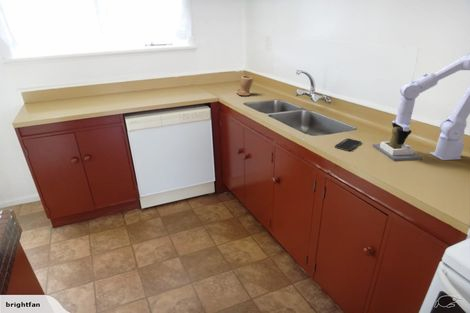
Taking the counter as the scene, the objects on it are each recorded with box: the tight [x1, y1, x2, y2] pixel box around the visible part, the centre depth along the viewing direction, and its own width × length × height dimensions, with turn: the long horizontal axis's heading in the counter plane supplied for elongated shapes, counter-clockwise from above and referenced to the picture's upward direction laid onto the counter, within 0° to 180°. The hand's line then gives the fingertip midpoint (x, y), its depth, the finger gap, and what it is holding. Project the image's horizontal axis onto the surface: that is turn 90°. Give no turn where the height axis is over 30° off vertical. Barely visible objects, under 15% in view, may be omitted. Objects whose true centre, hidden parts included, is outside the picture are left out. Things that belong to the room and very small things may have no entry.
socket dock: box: [372, 140, 422, 162], centre depth 142 cm, size 13×17×4 cm
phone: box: [334, 138, 363, 152], centre depth 150 cm, size 8×1×15 cm
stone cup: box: [235, 75, 254, 97], centre depth 249 cm, size 15×12×15 cm
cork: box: [388, 127, 402, 149], centre depth 140 cm, size 6×6×11 cm
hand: (398, 141), depth 140 cm, fingers open, 7 cm apart
